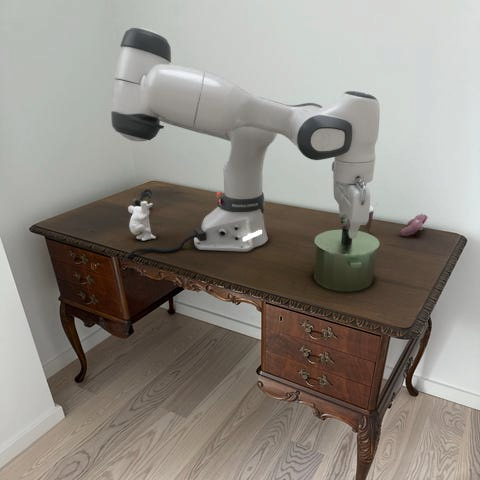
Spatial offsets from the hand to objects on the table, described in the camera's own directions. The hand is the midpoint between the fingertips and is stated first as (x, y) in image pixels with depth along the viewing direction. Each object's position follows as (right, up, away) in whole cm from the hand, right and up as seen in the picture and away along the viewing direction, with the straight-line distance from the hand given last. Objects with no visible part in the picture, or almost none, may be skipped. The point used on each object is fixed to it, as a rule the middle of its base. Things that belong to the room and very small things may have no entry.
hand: (347, 229), depth 112 cm
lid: (0, -3, +2) cm, 4 cm away
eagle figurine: (-61, +18, +57) cm, 85 cm away
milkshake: (+12, +4, +31) cm, 34 cm away
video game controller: (+27, +5, +31) cm, 42 cm away
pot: (0, -11, +7) cm, 13 cm away
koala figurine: (-56, +4, +33) cm, 65 cm away
